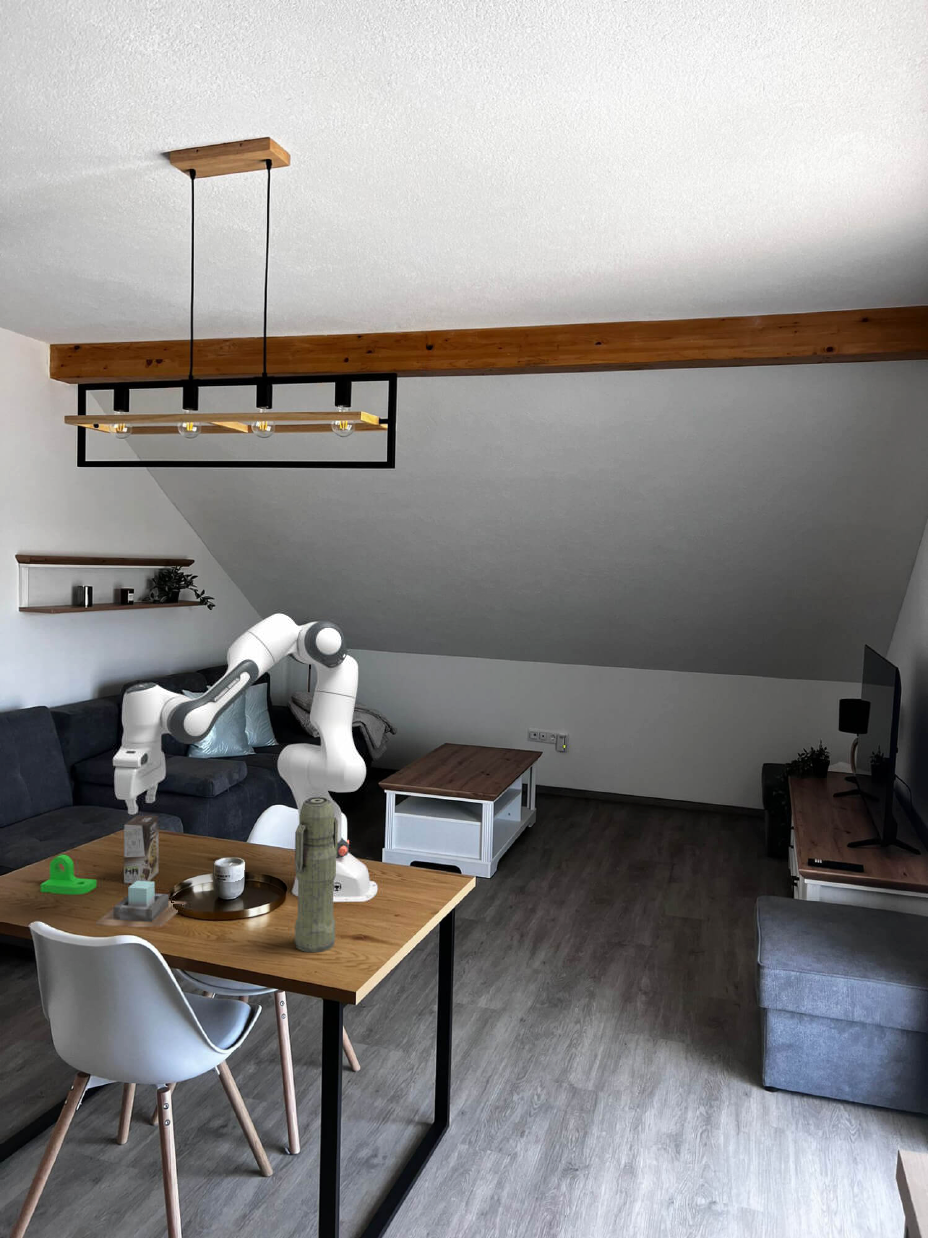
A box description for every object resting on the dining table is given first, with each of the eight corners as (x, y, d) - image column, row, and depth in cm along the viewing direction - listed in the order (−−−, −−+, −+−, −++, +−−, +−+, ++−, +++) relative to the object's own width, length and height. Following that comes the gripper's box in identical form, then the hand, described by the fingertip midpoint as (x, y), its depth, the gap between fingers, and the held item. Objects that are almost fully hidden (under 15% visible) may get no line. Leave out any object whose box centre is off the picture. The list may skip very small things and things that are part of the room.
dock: (186, 905, 228) (186, 890, 228) (159, 933, 213) (159, 916, 212) (125, 901, 230) (125, 886, 230) (93, 928, 214) (93, 912, 214)
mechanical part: (40, 892, 235) (40, 861, 234) (54, 883, 241) (54, 854, 240) (83, 896, 233) (83, 865, 233) (96, 887, 239) (96, 857, 238)
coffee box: (147, 884, 241) (147, 825, 240) (123, 883, 242) (123, 824, 240) (159, 872, 250) (159, 815, 249) (136, 871, 251) (136, 814, 249)
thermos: (346, 946, 208) (349, 797, 205) (314, 967, 198) (317, 809, 195) (315, 937, 213) (318, 790, 210) (282, 957, 202) (284, 803, 199)
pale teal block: (154, 909, 223) (154, 881, 223) (146, 917, 219) (146, 888, 218) (136, 908, 224) (136, 880, 223) (128, 915, 219) (128, 887, 219)
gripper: (147, 741, 228) (148, 795, 230) (109, 760, 208) (109, 819, 209) (172, 742, 228) (172, 796, 229) (135, 762, 208) (135, 821, 209)
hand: (141, 807), depth 219 cm, fingers open, 8 cm apart
